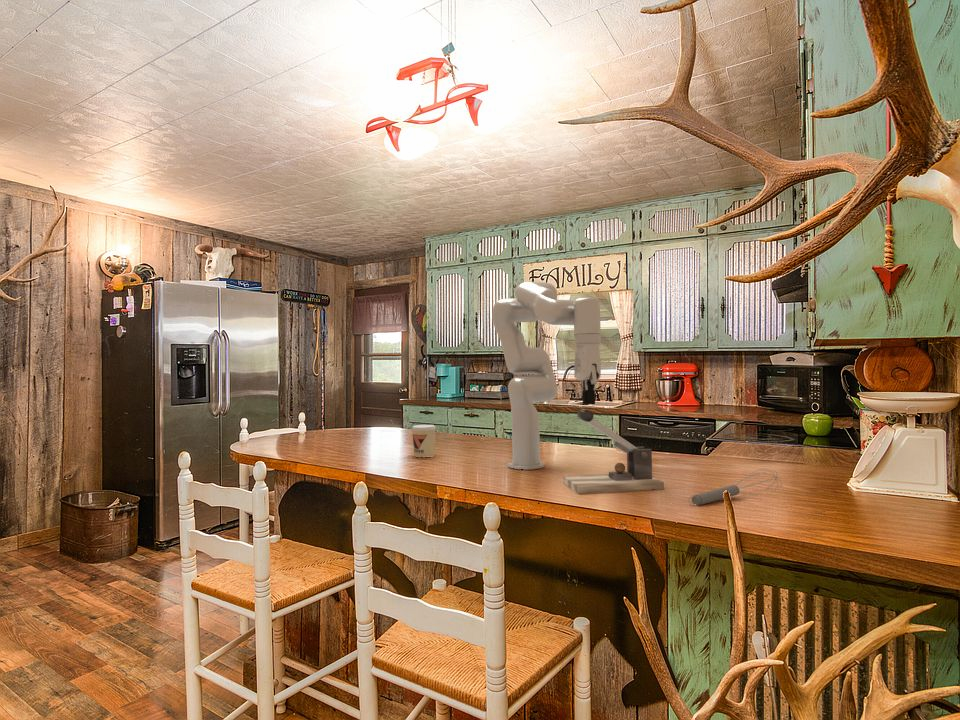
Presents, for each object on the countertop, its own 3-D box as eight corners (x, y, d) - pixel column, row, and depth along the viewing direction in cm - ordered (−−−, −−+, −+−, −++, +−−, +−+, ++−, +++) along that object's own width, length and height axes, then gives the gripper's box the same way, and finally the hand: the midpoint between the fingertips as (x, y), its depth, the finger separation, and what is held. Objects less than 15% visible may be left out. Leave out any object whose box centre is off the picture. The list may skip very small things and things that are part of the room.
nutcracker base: (563, 482, 163) (562, 447, 163) (642, 478, 167) (641, 444, 167) (578, 494, 149) (577, 455, 149) (664, 488, 153) (663, 451, 153)
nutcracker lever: (573, 418, 159) (581, 406, 159) (635, 460, 162) (642, 448, 162) (579, 420, 154) (586, 408, 155) (642, 463, 157) (649, 451, 157)
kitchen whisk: (679, 504, 138) (679, 479, 138) (766, 488, 153) (766, 466, 153) (699, 510, 132) (698, 484, 132) (787, 493, 147) (787, 470, 147)
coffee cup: (407, 457, 213) (406, 426, 213) (424, 453, 221) (424, 424, 221) (424, 459, 207) (423, 428, 207) (441, 455, 214) (440, 425, 214)
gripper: (567, 341, 164) (568, 402, 164) (583, 339, 149) (585, 406, 149) (590, 341, 165) (592, 401, 165) (609, 339, 150) (611, 405, 150)
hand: (588, 404), depth 157 cm, fingers closed
